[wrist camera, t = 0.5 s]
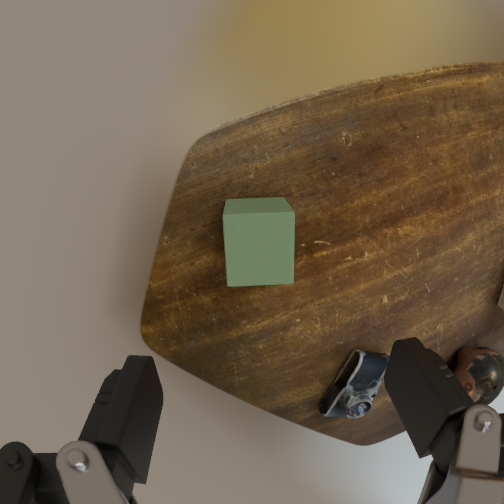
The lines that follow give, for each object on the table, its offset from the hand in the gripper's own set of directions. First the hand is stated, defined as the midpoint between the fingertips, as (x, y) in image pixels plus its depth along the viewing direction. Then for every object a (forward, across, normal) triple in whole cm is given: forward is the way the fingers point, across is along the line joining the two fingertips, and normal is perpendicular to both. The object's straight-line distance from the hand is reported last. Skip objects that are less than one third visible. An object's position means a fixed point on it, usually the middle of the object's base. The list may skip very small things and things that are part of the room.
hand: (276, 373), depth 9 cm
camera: (+16, -11, +18) cm, 27 cm away
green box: (+16, 0, 0) cm, 16 cm away
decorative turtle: (+16, -29, +20) cm, 39 cm away
